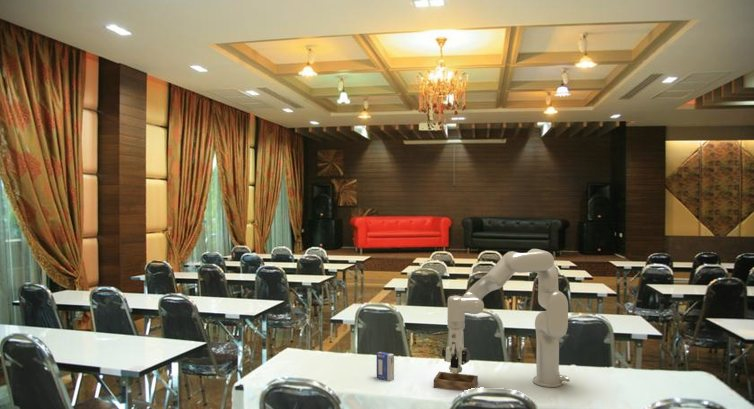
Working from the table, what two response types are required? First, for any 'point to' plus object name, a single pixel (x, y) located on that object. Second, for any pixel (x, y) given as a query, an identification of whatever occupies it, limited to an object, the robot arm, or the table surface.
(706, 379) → the table surface
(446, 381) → the wooden tray
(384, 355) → the walkman
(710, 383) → the table surface
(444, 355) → the pneumatic valve
